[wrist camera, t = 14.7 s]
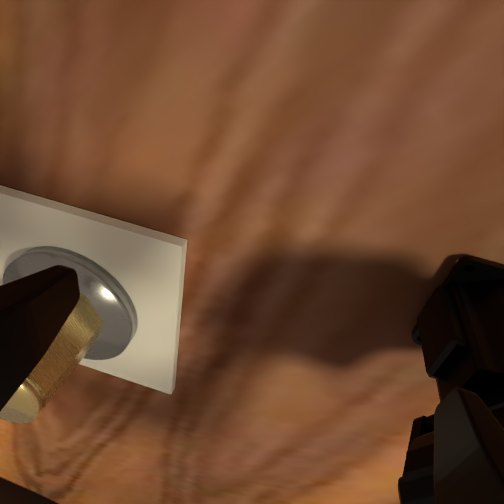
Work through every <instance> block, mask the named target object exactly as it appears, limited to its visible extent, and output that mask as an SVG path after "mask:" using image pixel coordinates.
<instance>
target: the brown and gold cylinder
mask: <svg viewBox="0 0 504 504" xmlns="http://www.w3.org/2000/svg"><path fill="white" fill-rule="evenodd" d="M102 325H103V320H102V319H101V317H100V316H99V314H98V313H97V311H96V310H95V308H94V307H93V306H92V304H91V303H90V301H89V300H88V298H87V297H86V296H84V295H82V294H80V298H79V301H78V303H77V305H76V306H75V308H74V309H73V311H72V313H71V314H70V316H69V317H68V319H67V320H66V322H65V324H64V325H63V327H62V328H61V330H60V332H59V333H58V335H57V336H56V338H55V340H54V341H53V343H52V344H51V346H50V347H49V349H48V350H47V352H46V353H45V355H44V356H43V358H42V359H41V360H40V362H39V363H38V364H37V366H36V367H35V368H34V369H33V371H32V372H31V373H30V374H29V376H28V377H27V378H26V380H25V381H24V382H23V383H22V385H21V386H20V387H19V388H18V390H17V391H16V392H15V394H14V395H13V396H12V397H11V399H10V400H9V401H8V402H7V404H6V405H5V406H4V408H3V409H2V410H1V411H0V418H1V419H3V420H7V421H10V422H15V423H28V422H31V421H33V420H34V419H35V417H36V416H37V415H38V414H39V412H40V411H42V410H43V409H44V408H45V406H46V405H47V404H48V403H49V401H50V400H51V399H52V397H53V396H54V395H55V393H56V392H57V391H58V390H59V388H60V387H61V386H62V384H63V383H64V382H65V381H66V379H67V378H68V377H69V375H70V374H71V373H72V372H73V370H74V369H75V368H76V366H77V365H78V364H79V363H80V361H81V360H82V359H83V357H84V356H85V355H86V354H87V352H88V351H89V350H90V348H91V347H92V346H93V345H94V343H95V342H96V341H97V339H98V337H99V334H100V331H101V328H102Z"/></svg>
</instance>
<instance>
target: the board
mask: <svg viewBox="0 0 504 504" xmlns="http://www.w3.org/2000/svg"><path fill="white" fill-rule="evenodd" d="M40 246H54V247H60V248H64V249H68V250H71V251H74V252H77V253H79V254H81V255H83V256H85V257H87V258H89V259H91V260H92V261H94V262H96V263H97V264H99V265H100V266H101V267H103V268H104V269H105V270H107V271H108V272H109V273H110V274H111V275H112V276H113V277H114V278H115V279H116V280H117V281H118V282H119V283H120V284H121V285H122V286H123V288H124V289H125V290H126V292H127V293H128V295H129V296H130V298H131V300H132V302H133V304H134V307H135V309H136V313H137V319H138V326H137V331H136V333H135V335H134V337H133V339H132V340H131V342H130V343H129V344H128V346H127V347H126V349H125V350H124V351H123V352H122V353H121V354H120V355H118V356H116V357H114V358H111V359H106V360H90V359H84V358H83V359H82V360H81V361H80V363H79V364H81V365H84V366H87V367H90V368H93V369H96V370H99V371H102V372H105V373H108V374H111V375H114V376H117V377H120V378H123V379H126V380H129V381H132V382H135V383H138V384H141V385H144V386H146V387H149V388H152V389H155V390H158V391H161V392H164V393H167V394H170V395H171V394H172V392H173V390H174V388H175V382H176V370H177V358H178V346H179V334H180V321H181V309H182V297H183V285H184V273H185V261H186V249H187V239H183V238H180V237H176V236H173V235H169V234H166V233H163V232H159V231H156V230H152V229H149V228H145V227H142V226H139V225H135V224H132V223H128V222H125V221H121V220H118V219H115V218H111V217H108V216H104V215H101V214H97V213H94V212H91V211H87V210H84V209H80V208H77V207H73V206H70V205H67V204H63V203H60V202H56V201H53V200H49V199H46V198H43V197H39V196H36V195H32V194H29V193H25V192H22V191H19V190H15V189H12V188H8V187H5V186H1V185H0V286H1V285H3V274H4V271H5V269H6V268H7V266H8V265H9V264H10V263H11V262H12V261H13V260H15V259H16V258H17V257H19V256H20V255H21V254H23V253H24V252H26V251H27V250H29V249H32V248H35V247H40Z"/></svg>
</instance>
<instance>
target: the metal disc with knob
mask: <svg viewBox="0 0 504 504" xmlns="http://www.w3.org/2000/svg"><path fill="white" fill-rule="evenodd" d="M55 265H64V266H67V267H70V268H73V269H75V270H76V272H77V275H78V282H79V289H80V294H82V295H84V296H86V297H87V298H88V300H89V301H90V303H91V304H92V306H93V307H94V308H95V310H96V311H97V313H98V314H99V316H100V317H101V319H102V320H103V325H102V328H101V331H100V334H99V337H98V339H97V341H96V342H95V343H94V345H93V346H92V347H91V348H90V350H89V351H88V352H87V354H86V355H85V356H84V357H83V358H84V359H90V360H106V359H111V358H114V357H116V356H118V355H120V354H121V353H122V352H123V351H124V350H125V349H126V347H127V346H128V344H129V343H130V342H131V340H132V339H133V337H134V335H135V333H136V331H137V326H138V319H137V313H136V309H135V307H134V304H133V302H132V300H131V298H130V296H129V295H128V293H127V292H126V290H125V289H124V288H123V286H122V285H121V284H120V283H119V282H118V281H117V280H116V279H115V278H114V277H113V276H112V275H111V274H110V273H109V272H108V271H107V270H105V269H104V268H103V267H101V266H100V265H99V264H97V263H96V262H94V261H92V260H91V259H89V258H87V257H85V256H83V255H81V254H79V253H77V252H74V251H71V250H68V249H64V248H60V247H54V246H40V247H35V248H32V249H29V250H27V251H26V252H24V253H23V254H21V255H20V256H19V257H17V258H16V259H15V260H13V261H12V262H11V263H10V264H9V265H8V266H7V268H6V269H5V271H4V274H3V284H6V283H9V282H12V281H14V280H17V279H20V278H22V277H25V276H28V275H31V274H33V273H36V272H39V271H41V270H44V269H47V268H50V267H52V266H55Z"/></svg>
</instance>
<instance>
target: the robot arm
mask: <svg viewBox="0 0 504 504" xmlns="http://www.w3.org/2000/svg"><path fill="white" fill-rule="evenodd" d="M468 264H472V266H471V267H469V268H465V266H466V265H468ZM79 298H80V289H79V282H78V275H77V272H76V270H75V269H73V268H70V267H67V266H64V265H55V266H52V267H50V268H47V269H44V270H41V271H39V272H36V273H33V274H31V275H28V276H25V277H22V278H20V279H17V280H14V281H12V282H9V283H6V284H3V285H1V286H0V411H1V410H2V409H3V408H4V406H5V405H6V404H7V402H8V401H9V400H10V399H11V397H12V396H13V395H14V394H15V392H16V391H17V390H18V388H19V387H20V386H21V385H22V383H23V382H24V381H25V380H26V378H27V377H28V376H29V374H30V373H31V372H32V371H33V369H34V368H35V367H36V366H37V364H38V363H39V362H40V360H41V359H42V358H43V356H44V355H45V353H46V352H47V350H48V349H49V347H50V346H51V344H52V343H53V341H54V340H55V338H56V336H57V335H58V333H59V332H60V330H61V328H62V327H63V325H64V324H65V322H66V320H67V319H68V317H69V316H70V314H71V313H72V311H73V309H74V308H75V306H76V305H77V303H78V301H79ZM417 322H418V323H417V325H416V326H415V328H414V330H413V331H412V339H413V341H414V342H415V343H417V344H420V345H422V350H423V356H424V362H425V367H426V372H427V374H428V375H429V377H431V378H435V379H436V382H437V387H438V392H439V397H440V403H439V405H438V406H437V408H436V410H435V414H433V415H430V416H428V417H426V416H422V417H419V418H416V419H414V421H413V426H412V431H411V436H410V441H409V446H408V451H407V453H406V461H405V466H404V471H403V476H402V477H400V478H399V480H398V492H399V499H400V504H504V265H502V264H499V263H495V262H491V261H488V260H484V259H480V258H477V257H473V256H465V257H462V258H460V259H459V260H458V262H457V263H456V265H455V266H454V268H453V269H452V271H451V272H450V274H449V276H448V277H447V279H446V280H445V282H444V283H443V285H442V286H440V287H438V288H436V289H435V291H434V293H433V294H432V296H431V297H430V299H429V300H428V302H427V303H426V305H425V307H424V308H423V310H422V311H421V313H420V314H419V316H418V318H417ZM419 336H420V337H419Z"/></svg>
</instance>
